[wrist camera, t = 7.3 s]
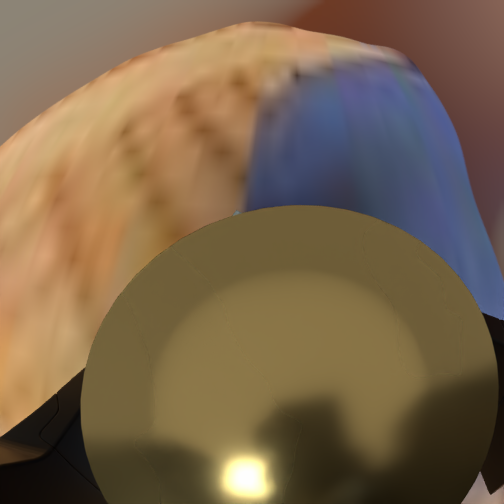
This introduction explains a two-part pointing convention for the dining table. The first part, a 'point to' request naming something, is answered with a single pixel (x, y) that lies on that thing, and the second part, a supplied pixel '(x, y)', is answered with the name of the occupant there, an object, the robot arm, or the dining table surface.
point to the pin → (291, 369)
